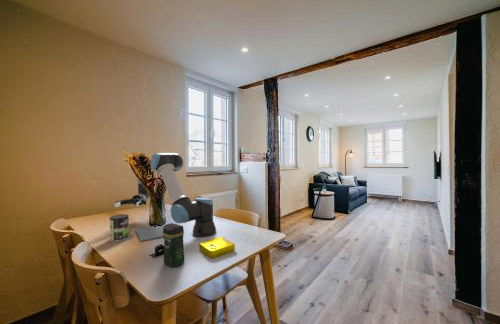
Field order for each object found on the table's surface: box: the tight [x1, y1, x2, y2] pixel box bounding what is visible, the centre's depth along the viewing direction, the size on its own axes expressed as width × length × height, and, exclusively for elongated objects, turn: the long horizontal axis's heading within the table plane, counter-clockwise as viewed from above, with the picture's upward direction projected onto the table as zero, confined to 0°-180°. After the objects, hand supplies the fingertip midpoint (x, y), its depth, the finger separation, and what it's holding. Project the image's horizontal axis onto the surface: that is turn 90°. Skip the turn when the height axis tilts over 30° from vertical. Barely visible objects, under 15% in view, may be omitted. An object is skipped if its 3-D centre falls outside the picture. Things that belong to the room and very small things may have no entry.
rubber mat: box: [134, 223, 167, 243], centre depth 148 cm, size 26×20×1 cm
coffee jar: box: [163, 222, 185, 268], centre depth 105 cm, size 10×8×19 cm
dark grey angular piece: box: [148, 243, 164, 259], centre depth 116 cm, size 12×7×5 cm, turn 140°
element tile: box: [198, 236, 236, 260], centre depth 118 cm, size 15×15×5 cm
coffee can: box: [109, 214, 130, 243], centre depth 138 cm, size 10×10×14 cm
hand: (125, 205), depth 147 cm, fingers open, 13 cm apart
